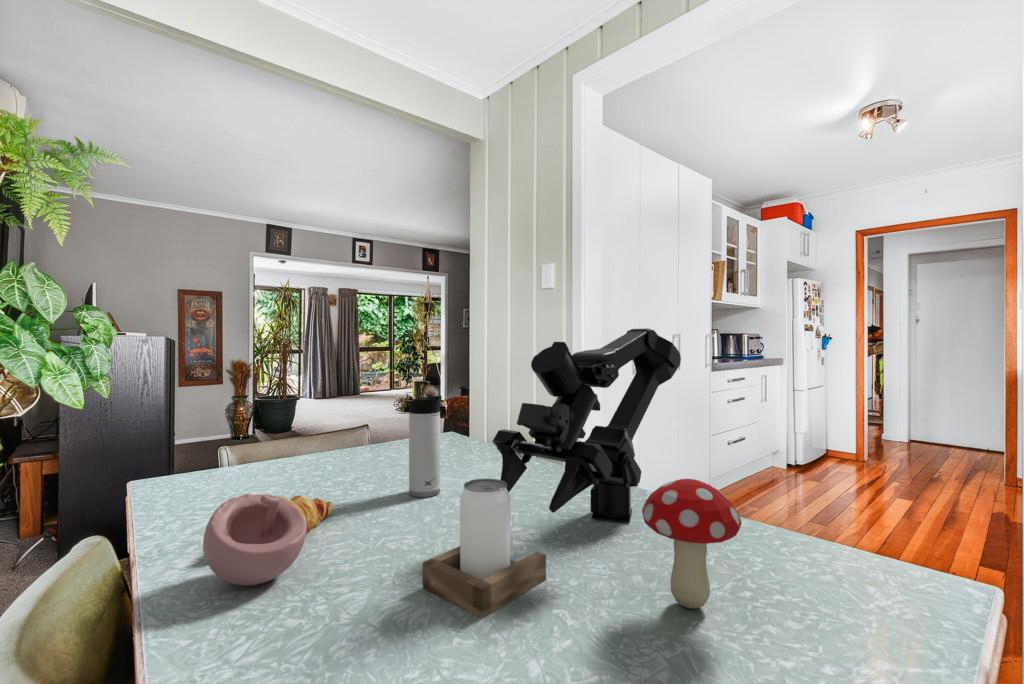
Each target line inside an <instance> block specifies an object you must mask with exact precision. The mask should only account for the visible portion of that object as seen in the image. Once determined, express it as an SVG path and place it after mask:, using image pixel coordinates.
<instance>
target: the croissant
mask: <svg viewBox="0 0 1024 684" xmlns="http://www.w3.org/2000/svg"><path fill="white" fill-rule="evenodd" d="M277 497H280V498H283V499H285V500H287V501H288V502H290V503H291V504H293V505H294V506H295V507H297V508H298V510H299V511H300V512H301V513H302V514H303V516H304V518H305V521H306V525H307V533H306V534H308V533H310V531H311V530H312V529H314V528H315V527H317V526H319V525H320V524H321V522H322V521H323V520H324V519H327V517H329V516H330V514H332V511H333V508H334V505H333V503H332V501H326V500H325V501H324V500H323V499H320V498H319V497H316V498H314V499H311V498H306V497H305V496H302V495H295V496H293V497H291V498H287V497H285V496H281V495H277Z"/></svg>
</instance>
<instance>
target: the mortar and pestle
mask: <svg viewBox="0 0 1024 684" xmlns="http://www.w3.org/2000/svg"><path fill="white" fill-rule="evenodd" d="M277 496H278V495H277ZM277 496H276V495H273V494H268V493H263V494H262V493H261V494H252V493H246V494H242V495H240V496H238V497H231V498H230V499H228V500H227V501H224V502H223V503H221V504H220V505H219V506H218V507H217V508H216V509H215V510H214V511H213V513H212V515H211V516H210V518H209V520H208V522H207V524H206V527H205V530H204V533H203V542H202V549H203V554H204V558H205V561H206V563H207V565H208V568H210V570H211V571H212V572H213V574H215V575H216V576H217V577H218V578H220V579H221V580H223V581H225V582H227V583H229V584H232V585H236V586H246V587H247V586H256V585H261V584H264V583H267V582H269V581H272V580H274V579H276V578H277V577H279V576H280V575H282V574H283V573H285V572H286V570H288V569H289V568H290V567H291V565H292V564H293V563H294V562H295V561H296V560H297V558H298V556H300V553H301V551H302V549H303V547H304V544H305V541H306V537H307V534H308V533H307V525H306V521H305V518H304V516H303V514H302V513H301V512H300V511H299V510H298V508H297V507H295V506H294V505H293V504H291V503H290V502H288V501H287V500H285V499H283V498H280V497H277Z"/></svg>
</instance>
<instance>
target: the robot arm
mask: <svg viewBox="0 0 1024 684" xmlns="http://www.w3.org/2000/svg"><path fill="white" fill-rule="evenodd" d="M681 358H682V357H681V353H680V351H679V350H678V348H677V347H676V346H675V344H674V343H673V342H671V341H669V340H668V339H666V338H664V337H662V336H660V335H658V334H657V332H656V330H654V329H651V328H631V329H628V330H627V331H626V333H624V334H623V335H621V336H620V337H618V338H616V339H614V340H612V341H611V342H608V343H607V344H606V345H604V346H602V347H600V348H596V349H588V350H582V351H578V352H575V353H573V354H572V353H571V352H570V349H569V347H568V345H567V343H566V342H565V341H553V343H551V346H549V347H546V348H544V349H542V350H540V352H538V353H537V354H535V355H534V357H533V358H532V360H531V363H530V367H531V370H532V371H533V373H534V374H535V375H536V377H537V378H538V380H539V381H540V383H541V384H542V386H543V387H544V388H545V390H546V392H547V393H548V395H550V396H552V397H555V401H554V403H553V404H552V405H551V406H547V405H543V404H539V403H538V404H537V403H526V402H522V403H521V406H520V410H519V413H518V417H517V421H516V424H517V425H518V426H519V427H520V426H523V427H525V428H527V429H528V430H529V431H528V435H529V436H530V438H533V439H534V442H531V441H528V440H527V439H526V438H525V436H524V435H523V433H522V432H520V431H518V430H517V431H516V430H510V429H505V428H504V429H499V430H498V431H497V432H496V434H495V436H494V437H493V439H492V441H491V443H493V444H494V446H495V447H496V449H497V451H498V452H499V453H500V454H501V459H502V466H501V473H500V479H499V480H502V481H504V482H506V483H507V487H506V488H507V490H508V492H509V493H511V491H512V489H513V488H514V487H515V485H516V484H517V482H518V481H519V480H520V479H521V477H522V476H523V475H524V474H525V471H526V470H527V469H528V467H527V465H526V464H527V463H529V462H530V461H531V459H532V457H538V458H542V459H546V460H553V461H558V462H564V472H563V474H562V476H561V479H560V480H559V483H558V485H557V487H556V488H555V489H556V490H555V491H554V494H553V495H552V498H551V501H550V504H549V507H548V510H549V511H550V512H551V513H556V512H558V511H559V510H560V509H561V508H562V507H563V506H565V505H566V504H567V503H568V502H570V501H571V500H572V499H574V497H576V496H577V495H579V494H580V493H582V492H583V491H585V490H586V489H587V488H589V487H591V488H590V512H591V513H592V514H591V519H592V520H597V521H598V520H599V521H606V522H617V523H626V524H627V523H628V524H630V522H631V519H632V514H633V508H632V488H636V487H638V486H639V483H640V482H641V478H642V476H641V475H642V470H641V468H640V466H639V464H638V463H637V461H636V459H635V457H636V454H635V453H636V452H635V449H634V444H633V439H634V437H635V435H636V433H637V431H638V429H639V426H640V424H641V423H642V420H643V419H644V416H645V415H646V413H647V410H648V408H649V407H650V404H651V402H652V401H653V399H654V396H655V394H656V392H657V389H658V388H659V386H661V385H663V384H664V383H666V382H668V381H669V380H671V379H672V378H673V377H674V375H675V374H676V372H677V370H678V368H679V367H680V366H681V363H682V362H681V361H682V360H681ZM631 361H633V364H634V368H635V374H634V376H633V378H632V380H631V382H630V384H629V386H628V387H627V389H626V391H625V393H624V395H623V396H622V399H621V401H620V402H619V404H618V406H617V408H616V410H615V412H614V413H613V415H612V417H611V420H610V421H609V423H608V425H606V426H604V425H603V426H602V425H595V426H593V428H592V429H591V432H590V435H589V436H588V438H587V439H585V441H580V440H579V439H581V440H583V439H584V438H585V436H586V432H585V429H584V428H585V424H586V422H587V420H588V418H589V416H590V414H591V412H592V411H596V412H597V411H598V412H600V411H601V404H600V401H599V399H598V398H599V397H598V394H597V393H595V391H594V390H593V388H600V389H601V388H603V389H607V388H609V387H610V386H612V384H613V383H614V382H615V381H616V380H617V379H618V378H619V376H620V373H619V370H620V369H621V368H622V367H624V366H625V365H627V364H628V363H629V362H631Z"/></svg>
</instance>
